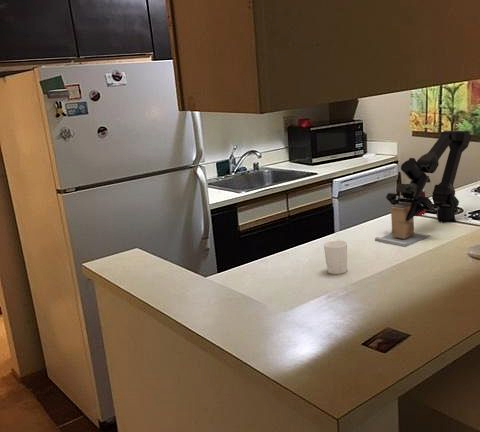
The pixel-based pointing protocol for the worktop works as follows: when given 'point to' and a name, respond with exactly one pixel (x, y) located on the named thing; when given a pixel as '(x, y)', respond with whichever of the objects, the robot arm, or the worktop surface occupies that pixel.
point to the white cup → (336, 256)
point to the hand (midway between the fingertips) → (400, 219)
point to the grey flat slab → (401, 239)
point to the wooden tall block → (401, 221)
